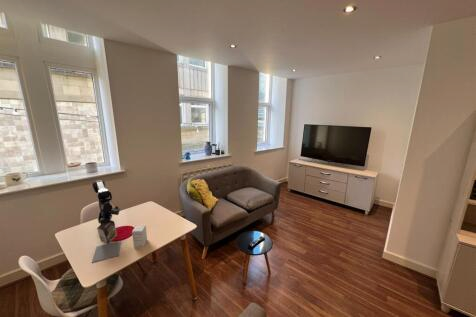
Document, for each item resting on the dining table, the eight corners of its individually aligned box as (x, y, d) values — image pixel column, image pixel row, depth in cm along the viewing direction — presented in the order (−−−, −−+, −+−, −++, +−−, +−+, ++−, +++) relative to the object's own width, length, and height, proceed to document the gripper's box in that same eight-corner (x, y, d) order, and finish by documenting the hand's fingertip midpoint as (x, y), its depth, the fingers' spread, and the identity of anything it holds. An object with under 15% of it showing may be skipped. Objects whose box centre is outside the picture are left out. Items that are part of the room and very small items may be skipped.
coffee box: (108, 244, 142) (104, 231, 134) (100, 241, 143) (96, 228, 134) (117, 234, 150) (114, 221, 141) (110, 231, 151) (106, 218, 142)
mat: (96, 247, 140) (96, 246, 140) (120, 241, 147) (120, 240, 147) (91, 262, 125) (91, 262, 125) (118, 255, 132) (118, 255, 132)
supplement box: (137, 240, 148) (135, 225, 146) (147, 240, 149) (146, 225, 146) (133, 246, 141) (131, 231, 139) (143, 246, 142) (142, 230, 139)
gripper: (117, 210, 139) (119, 229, 142) (119, 200, 155) (121, 217, 159) (98, 213, 134) (101, 233, 138) (102, 202, 151) (105, 220, 154)
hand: (108, 225), depth 147 cm, fingers closed
